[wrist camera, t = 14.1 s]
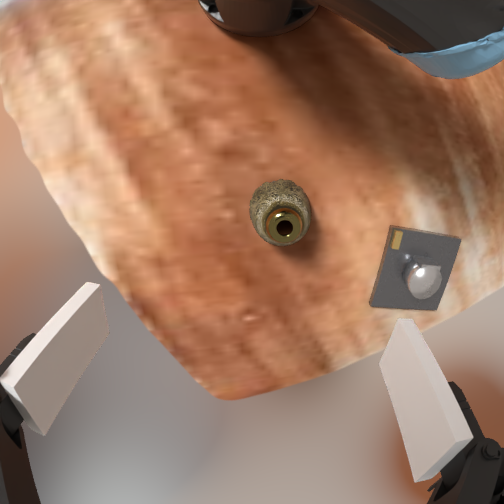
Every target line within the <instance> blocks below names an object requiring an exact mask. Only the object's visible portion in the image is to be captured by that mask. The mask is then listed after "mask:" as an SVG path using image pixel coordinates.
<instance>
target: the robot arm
mask: <svg viewBox="0 0 504 504" xmlns="http://www.w3.org/2000/svg"><path fill="white" fill-rule="evenodd" d="M198 2H199V4H200V6H201V7H202V9H203V10H204V12H205V13H206V15H207V16H208V17H209V18H210V19H211V20H212V21H213V22H214V23H215V24H217V25H218V26H220V27H222V28H223V29H225V30H228V31H230V32H233V33H236V34H240V35H244V36H252V37H267V36H275V35H279V34H283V33H286V32H289V31H292V30H294V29H296V28H298V27H299V26H301V25H303V24H304V23H305V22H307V21H308V20H309V19H310V18H311V17H312V16H313V14H314V13H315V12H316V10H317V8H318V6H319V5H321V6H323V7H324V8H326V9H328V10H330V11H332V12H334V13H336V14H338V15H339V16H341V17H343V18H345V19H346V20H348V21H350V22H351V23H353V24H355V25H356V26H358V27H360V28H361V29H363V30H365V31H366V32H368V33H369V34H371V35H372V36H374V37H375V38H377V39H378V40H380V41H381V42H383V43H384V44H386V45H387V46H388V48H389V49H390V50H391V51H392V52H394V53H395V54H397V55H400V56H403V57H405V58H407V59H408V60H409V61H411V62H412V63H414V64H415V65H416V66H418V67H419V68H420V69H422V70H423V71H425V72H426V73H428V74H430V75H432V76H435V77H441V78H445V79H460V78H465V77H469V76H472V75H475V74H478V73H480V72H483V71H485V70H487V69H489V68H491V67H493V66H494V65H496V64H497V63H499V62H500V61H502V60H503V59H504V0H198ZM109 333H110V332H109V327H108V323H107V318H106V313H105V307H104V302H103V296H102V291H101V285H100V284H95V283H90V282H86V283H85V284H84V285H83V286H82V287H81V288H80V289H79V290H78V291H77V292H76V294H74V295H73V296H72V297H71V298H70V299H69V300H68V302H66V303H65V305H64V306H63V307H62V308H61V309H60V310H59V311H58V312H57V313H56V314H55V315H54V316H53V317H52V318H51V319H50V321H48V323H47V324H46V325H45V326H44V327H43V328H42V329H41V330H40V331H39V332H38V334H34V333H32V334H31V335H29V336H27V337H26V338H24V339H23V340H22V341H21V342H20V343H19V344H18V346H17V347H16V349H14V350H13V351H12V352H11V355H9V356H8V357H7V358H6V359H5V360H4V361H3V363H2V364H1V365H0V504H41V503H40V499H39V496H38V493H37V489H36V486H35V482H34V479H33V475H32V471H31V467H30V462H29V458H28V453H27V448H26V443H25V439H24V432H23V429H22V426H21V423H22V422H23V420H24V421H25V422H26V424H27V425H28V426H29V428H30V429H32V430H34V431H36V432H37V433H39V434H41V435H43V436H45V435H46V433H47V431H48V430H49V428H50V426H51V424H52V423H53V421H54V419H55V418H56V416H57V414H58V413H59V411H60V409H61V408H62V406H63V404H64V403H65V401H66V399H67V398H68V396H69V394H70V393H71V391H72V390H73V388H74V386H75V385H76V383H77V382H78V380H79V379H80V377H81V375H82V374H83V372H84V371H85V369H86V367H87V366H88V365H89V363H90V361H91V360H92V358H93V357H94V355H95V354H96V352H97V351H98V349H99V348H100V346H101V345H102V343H103V342H104V340H105V339H106V338H107V336H108V335H109ZM379 366H380V369H381V372H382V375H383V378H384V380H385V383H386V387H387V389H388V393H389V396H390V399H391V402H392V405H393V408H394V411H395V414H396V418H397V421H398V424H399V427H400V431H401V434H402V437H403V441H404V444H405V448H406V451H407V455H408V459H409V463H410V466H411V470H412V474H413V478H414V482H419V481H423V480H428V479H431V478H433V477H434V476H435V475H436V474H437V473H438V472H439V471H440V472H441V475H442V477H441V478H440V479H439V480H438V481H437V482H436V483H434V484H433V485H432V486H431V487H430V488H429V489H428V491H431V490H432V489H433V488H435V489H434V491H433V493H432V495H431V497H430V499H429V501H428V503H427V504H504V448H501V447H500V445H499V444H498V443H497V442H496V441H495V440H493V439H490V438H485V437H484V435H483V433H482V431H481V429H480V426H479V425H478V422H477V420H476V418H475V416H474V414H473V412H472V410H470V406H469V404H468V402H466V398H465V396H464V394H463V392H462V390H461V389H460V388H459V387H458V386H457V385H456V384H455V383H454V382H447V381H446V378H445V376H444V375H443V373H442V371H441V369H440V367H439V365H438V363H437V361H436V359H435V358H434V356H433V354H432V352H431V350H430V348H429V347H428V345H427V343H426V341H425V340H424V338H423V336H422V334H421V333H420V331H419V329H418V327H417V326H416V324H415V322H414V321H413V319H405V318H398V320H397V322H396V325H395V327H394V330H393V332H392V335H391V337H390V339H389V342H388V344H387V347H386V349H385V351H384V354H383V356H382V358H381V360H380V362H379Z"/></svg>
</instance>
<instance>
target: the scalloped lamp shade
mask: <svg viewBox="0 0 504 504" xmlns="http://www.w3.org/2000/svg"><path fill="white" fill-rule="evenodd" d="M250 218H251V220H252V223H253V225H254V228H255V230H256V231H257V233H258V234H259V236H260V237H261V238H262V239H264V240H265V241H266V242H268V243H270V244H273V245H277V246H287V245H291V244H294V243H296V242H297V241H299V240H300V239H301V238H302V237H303V236H304V235H305V234H306V232H307V230H308V228H309V226H310V221H311V210H310V205H309V200H308V198H307V195H306V194H305V193H304V192H303V189H302V188H301V187H300V186H297V185H296V184H295V183H294V182H292V181H290V180H283V179H279V180H278V181H273V182H270V183H268V182H265V183H263V184H262V186H260V187H259V188H257V189H256V190H255V192H254V194H253V197H252V200H251V201H250ZM282 220H287V221H289V222H291V223H292V225H293V230H292V232H291V233H289V234H286V235H280V234H279V233H278V232H277V224H278V223H279V222H280V221H282Z"/></svg>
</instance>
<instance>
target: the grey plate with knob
mask: <svg viewBox="0 0 504 504" xmlns="http://www.w3.org/2000/svg"><path fill="white" fill-rule="evenodd" d="M460 242H461V239H460V238H459V237H456V236H451V235H446V234H440V233H434V232H429V231H423V230H417V229H411V228H405V227H399V226H392V225H390V228H389V232H388V236H387V240H386V244H385V248H384V252H383V256H382V260H381V263H380V267H379V271H378V274H377V278H376V281H375V284H374V288H373V291H372V294H371V298H370V301H369V304H370V306H372V307H388V308H404V309H423V310H437V308H438V305H439V303H440V300H441V298H442V295H443V292H444V290H445V287H446V284H447V282H448V279H449V276H450V273H451V270H452V267H453V264H454V261H455V258H456V255H457V252H458V249H459V246H460Z"/></svg>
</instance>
